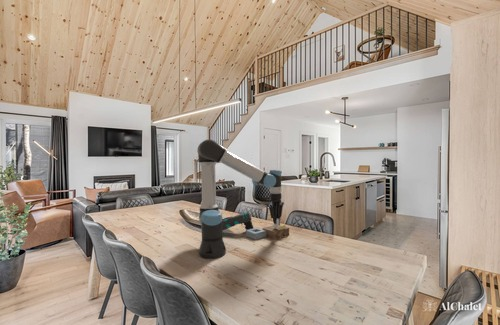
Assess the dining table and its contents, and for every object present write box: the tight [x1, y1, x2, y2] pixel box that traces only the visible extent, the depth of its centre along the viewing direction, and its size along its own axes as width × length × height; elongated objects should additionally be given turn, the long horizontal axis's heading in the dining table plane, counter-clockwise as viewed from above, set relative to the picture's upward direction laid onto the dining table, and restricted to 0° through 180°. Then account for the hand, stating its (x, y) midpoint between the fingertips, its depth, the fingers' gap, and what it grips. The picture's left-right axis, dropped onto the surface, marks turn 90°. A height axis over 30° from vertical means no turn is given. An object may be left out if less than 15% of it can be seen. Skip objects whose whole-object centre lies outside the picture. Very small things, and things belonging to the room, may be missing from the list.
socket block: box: [261, 224, 290, 240], centre depth 168 cm, size 14×12×5 cm
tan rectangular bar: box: [276, 223, 286, 230], centre depth 164 cm, size 7×2×2 cm, turn 128°
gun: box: [222, 211, 254, 231], centre depth 177 cm, size 7×29×15 cm, turn 87°
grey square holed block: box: [245, 227, 267, 241], centre depth 166 cm, size 10×10×4 cm
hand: (276, 228), depth 161 cm, fingers closed
